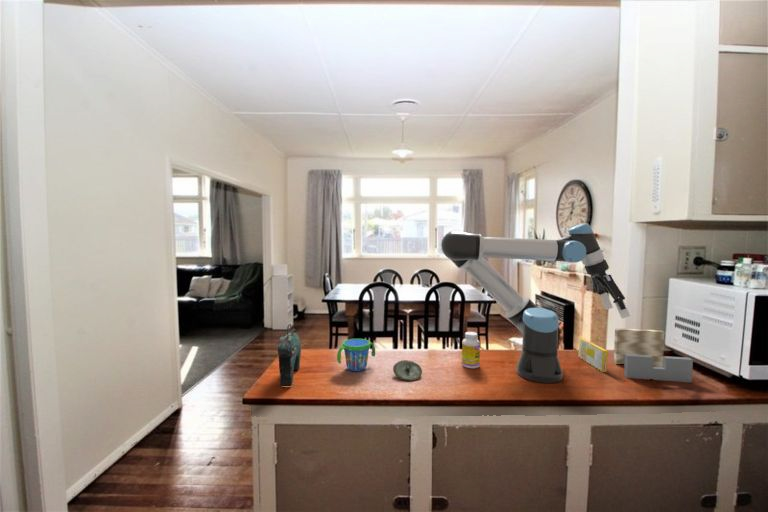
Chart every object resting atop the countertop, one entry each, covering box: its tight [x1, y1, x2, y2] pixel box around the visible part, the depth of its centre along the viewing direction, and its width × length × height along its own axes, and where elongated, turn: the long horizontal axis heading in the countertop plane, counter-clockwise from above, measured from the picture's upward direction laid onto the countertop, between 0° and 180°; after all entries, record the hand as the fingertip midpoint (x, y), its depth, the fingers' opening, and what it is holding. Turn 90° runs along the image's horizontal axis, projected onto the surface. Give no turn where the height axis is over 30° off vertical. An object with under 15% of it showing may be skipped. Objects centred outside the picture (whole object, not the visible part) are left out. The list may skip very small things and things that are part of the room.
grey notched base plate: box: [623, 354, 694, 383], centre depth 121 cm, size 20×2×8 cm, turn 79°
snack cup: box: [336, 338, 376, 372], centre depth 131 cm, size 16×10×10 cm
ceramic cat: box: [277, 323, 302, 387], centre depth 122 cm, size 20×6×20 cm, turn 3°
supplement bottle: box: [461, 331, 481, 369], centre depth 133 cm, size 7×7×13 cm
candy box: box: [578, 337, 609, 373], centre depth 135 cm, size 16×2×8 cm, turn 179°
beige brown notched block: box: [613, 327, 665, 367], centre depth 133 cm, size 16×2×14 cm, turn 79°
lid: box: [392, 359, 423, 382], centre depth 124 cm, size 11×10×5 cm
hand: (617, 312), depth 131 cm, fingers open, 13 cm apart
